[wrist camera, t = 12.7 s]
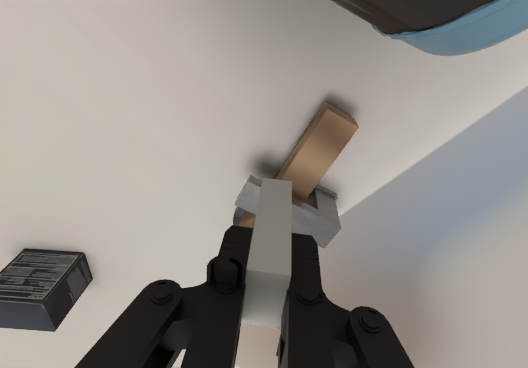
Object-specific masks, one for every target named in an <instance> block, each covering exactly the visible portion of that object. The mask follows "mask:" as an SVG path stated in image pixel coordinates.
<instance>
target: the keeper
mask: <svg viewBox="0 0 528 368" xmlns="http://www.w3.org/2000/svg"><path fill="white" fill-rule="evenodd" d="M261 184H262V181H260V180H258V179H257V178H255V177H253V176H251V175H250V177H249V178H248V180H247V182H246V184H245V185H244V187H243V189H242V190H241V192H240V194H239V196H238V197H237V200H236V203H235V205H236V206H238V207H240V208H242V209H244V210H246V211H248V212H250V213H253V214H255V215H256V212H257V207H258V201H259V196H260V190H261ZM336 199H337V195H336V194H334V193H333V192H331V191H329V190H327V189H325V188H323V187H321V186H319V185H316V186H315V188H314V189H313V190H312V192H311V193H310V194H309V196H308V197H307V199H306V200H305V201H304V202H302V201H300V200H298V199H296V198H294V197H292V229H291V232H292V233H298V234H305V235H312V236H313V238H314V239H315V241H316V242H317V245H318V246H320V247H322V248H325V247H326V245H328V243H329V242H330V241H331V240H332V239H333V237H334V236H335V235H336V234H337V233H338V231H339V230H340V229H341V225H340V221H339V216H338V212H337V207H336V203H335V200H336Z"/></svg>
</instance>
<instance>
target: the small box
mask: <svg viewBox="0 0 528 368" xmlns="http://www.w3.org/2000/svg"><path fill="white" fill-rule="evenodd" d="M91 281H92V275H91V272H90V269H89V266H88V263H87V260H86V257H85V254H84V253H79V252H64V251H49V250H33V249H24V250H23V251H21V253H20V254H19V255H18V256H17V257H16V258H14V259H13V260H12V261H11V262H10V263H9V264H8V265H7V266H6V267H5V268H4V269H3V270H2V271H1V272H0V328H13V329H26V330H39V331H52V332H55V331H56V329H57V328H58V327H59V325H60V324H61V322H62V321H63V320H64V318H65V317H66V315H67V314H68V312H69V311H70V310H71V308H72V307H73V306H74V304H75V303H76V301H77V300H78V299H79V297H80V296H81V294H82V293H83V292H84V290H85V289H86V287H87V286H88V285H89V283H90V282H91Z"/></svg>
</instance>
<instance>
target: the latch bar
mask: <svg viewBox="0 0 528 368" xmlns="http://www.w3.org/2000/svg"><path fill="white" fill-rule="evenodd" d="M358 128H359V127H358V125H357V123H356V121H355V119H354V118H352V117H350V116H348V115H347V114H345V113H343V112H342V111H340V110H338V109H337V108H335V107H333V106H332V105H330V104H328V103H326V102H324V104H323V105H322V107H321V108H320V110H319V111H318V113H317V115H316V116H315V118H314V119H313V121H312V122H311V124H310V125H309V127H308V128H307V130H306V131H305V133H304V135H303V136H302V138H301V139H300V141H299V142H298V144H297V145H296V147H295V148H294V150H293V151H292V153H291V155H290V156H289V158H288V159H287V161H286V162H285V164H284V165H283V167H282V168H281V170H280V171H279V173H278V174H277V176H276V178H275V179H278V180H285V181H292V197H294V198H296V199H298V200H300V201H302V202H304V201H305V200H306V199H307V197H308V196H309V194H310V193H311V192H312V190H313V189H314V188H315V186H316V185H317V184H318V182H319V181H320V180H321V178H322V177H323V175H324V174H325V173H326V171H327V170H328V169H329V167H330V166H331V165H332V163H333V162H334V161H335V159H336V158H337V156H338V155H339V154H340V152H341V151H342V150H343V148H344V147H345V146H346V144H347V143H348V142H349V140H350V139H351V138H352V136H353V135H354V133H355V132H356V131H357V129H358ZM255 218H256V215H255V214H253V213H250V212H248V211H247V212H245V213H244V214H243V216H242V217H241V219H240V223H239V226H241V227H249V228H254V224H255Z"/></svg>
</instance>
